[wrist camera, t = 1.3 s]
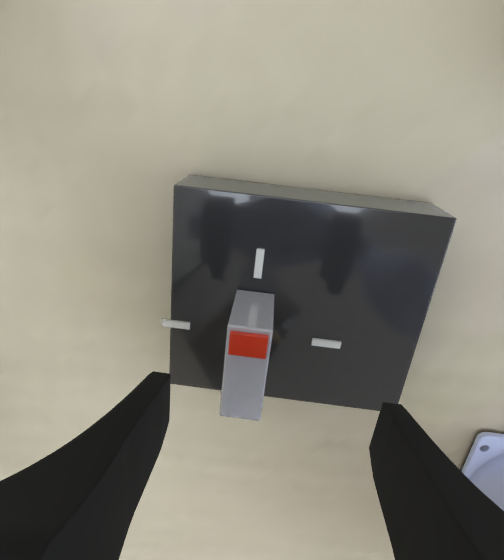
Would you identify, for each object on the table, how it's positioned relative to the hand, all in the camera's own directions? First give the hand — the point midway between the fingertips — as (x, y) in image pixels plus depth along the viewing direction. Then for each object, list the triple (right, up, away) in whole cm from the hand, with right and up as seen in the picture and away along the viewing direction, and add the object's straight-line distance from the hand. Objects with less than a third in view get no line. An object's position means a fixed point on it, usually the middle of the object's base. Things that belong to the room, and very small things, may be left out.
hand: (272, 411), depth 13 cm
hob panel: (+2, +4, +8) cm, 9 cm away
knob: (-1, +2, +6) cm, 6 cm away
